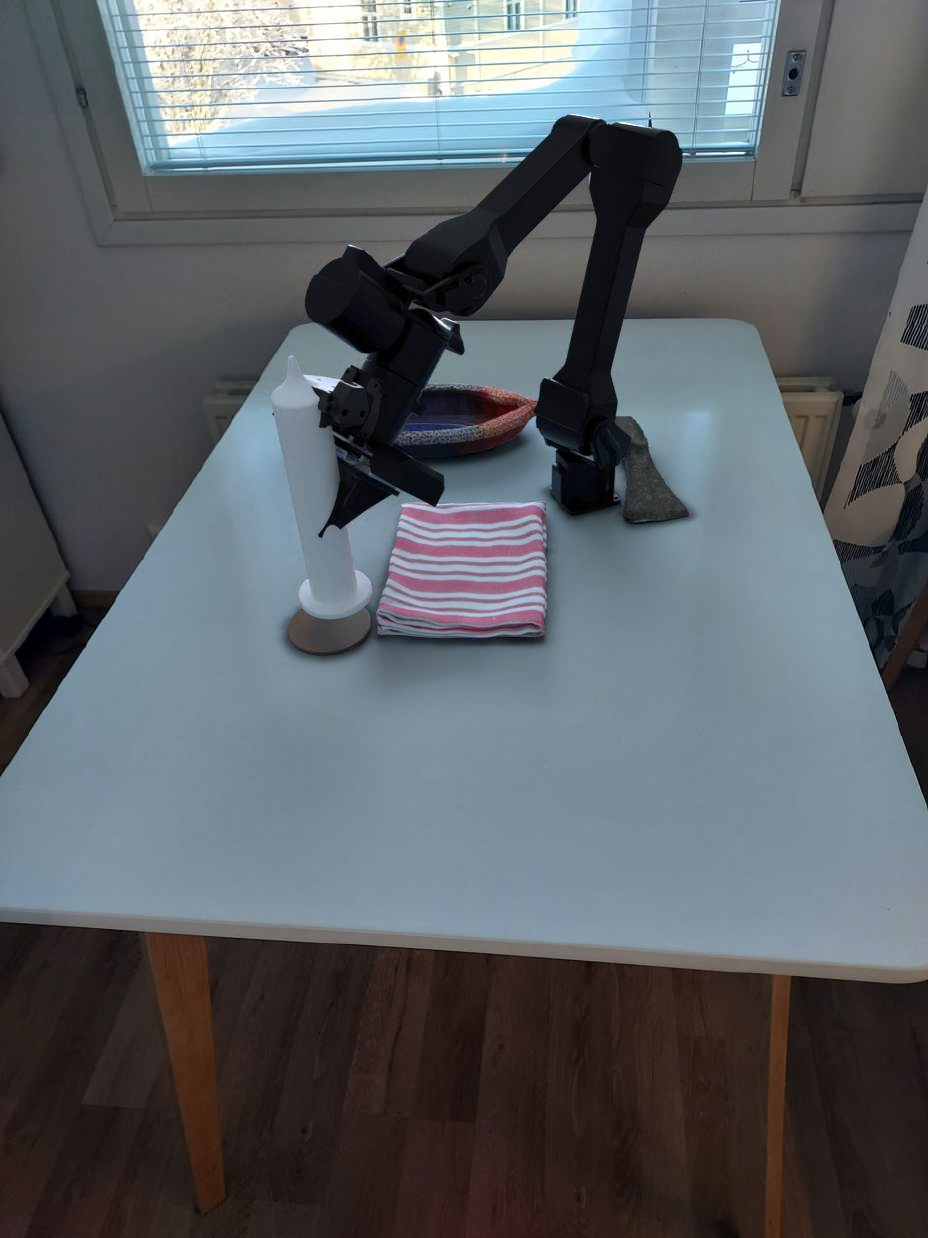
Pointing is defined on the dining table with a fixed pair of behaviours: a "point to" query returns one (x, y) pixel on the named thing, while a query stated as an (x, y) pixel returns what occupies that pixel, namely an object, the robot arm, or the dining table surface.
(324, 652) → the coaster
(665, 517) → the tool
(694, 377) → the dining table surface
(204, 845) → the dining table surface
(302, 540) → the candle
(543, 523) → the dish towel
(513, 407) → the dish
